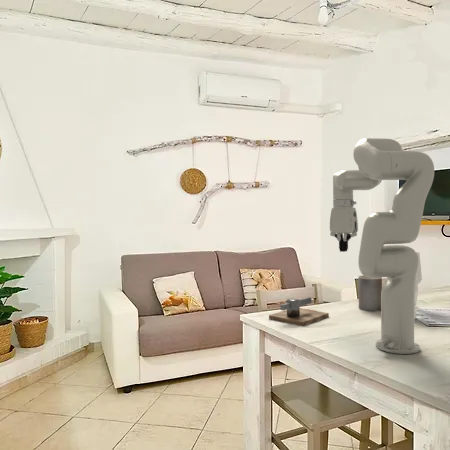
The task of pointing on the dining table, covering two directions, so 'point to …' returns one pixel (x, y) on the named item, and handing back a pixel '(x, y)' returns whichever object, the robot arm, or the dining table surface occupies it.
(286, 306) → the capstan
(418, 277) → the champagne flute
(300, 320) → the dial stand
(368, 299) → the pillar candle
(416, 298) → the beer glass
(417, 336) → the dining table surface
